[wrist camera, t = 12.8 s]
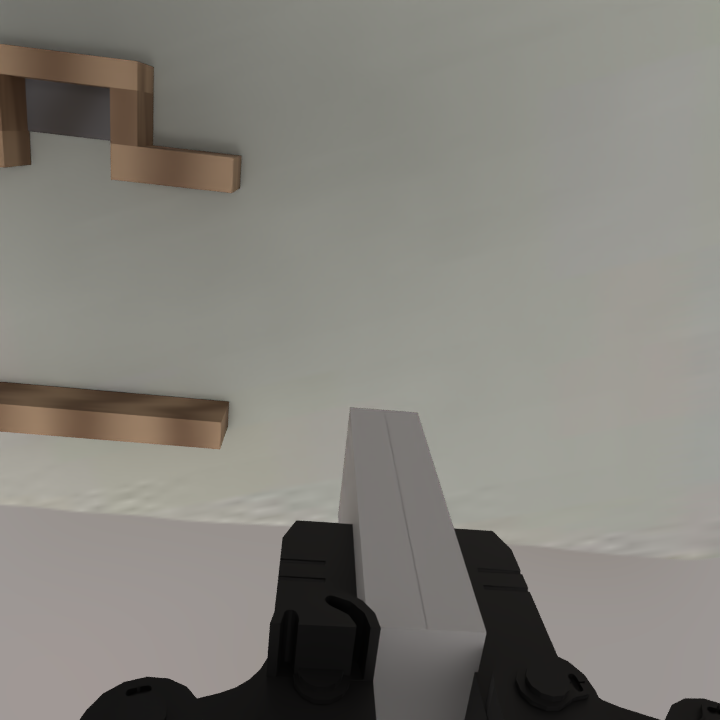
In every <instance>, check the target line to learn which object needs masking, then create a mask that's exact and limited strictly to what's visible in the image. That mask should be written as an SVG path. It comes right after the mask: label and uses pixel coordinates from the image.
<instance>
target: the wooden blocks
mask: <svg viewBox="0 0 720 720" xmlns="http://www.w3.org/2000/svg"><path fill="white" fill-rule="evenodd" d="M153 82H154V67H152V66H149V65H146V64H143V63H140V62H138V61H131V60H123V59H115V58H107V57H99V56H91V55H83V54H76V53H68V52H60V51H52V50H44V49H36V48H28V47H20V46H12V45H5V44H0V167H4V168H5V167H14V166H23V165H31V153H30V134H29V131H33V132H41V133H50V134H58V135H67V136H76V137H84V138H93V139H101V140H110V141H111V180H120V181H129V182H138V183H147V184H156V185H165V186H174V187H183V188H192V189H201V190H210V191H218V192H227V193H233V192H234V191H236V190H238V189H239V188H240V175H241V156H240V155H231V154H223V153H214V152H205V151H197V150H188V149H180V148H171V147H163V146H154V145H153ZM228 411H229V402H226V401H214V400H203V399H191V398H180V397H168V396H157V395H145V394H134V393H122V392H111V391H99V390H88V389H76V388H65V387H53V386H41V385H30V384H18V383H7V382H0V431H1V432H14V433H26V434H38V435H51V436H63V437H76V438H88V439H100V440H113V441H125V442H137V443H150V444H162V445H174V446H187V447H199V448H212V449H220V448H221V445H222V442H223V439H224V436H225V433H226V430H227V427H228Z"/></svg>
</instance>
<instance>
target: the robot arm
mask: <svg viewBox="0 0 720 720" xmlns="http://www.w3.org/2000/svg"><path fill="white" fill-rule="evenodd" d="M338 520H339V523H328V522H312V521H296V522H295V523H294V524H293V525H292V527H291V528H290V529H289V530H288V532H287V533H286V534H285V535H284V537H283V540H282V549H281V558H280V567H279V576H278V586H277V595H276V603H275V612H274V615H273V617H272V620H271V622H270V633H269V646H268V658H267V660H266V661H265V663H264V664H263V666H262V668H261V669H260V670H259V671H258V672H257V673H256V674H255V675H254V676H253V677H252V678H251V679H249V680H248V681H246V682H244V683H243V684H241V685H239V686H238V687H236V688H233V689H230V690H227V691H225V692H221V693H218V694H214V695H210V696H206V697H202V698H198V699H197V698H196V697H195V696H194V695H193V694H192V692H191V691H190V690H189V689H188V688H187V687H186V686H184V685H182V684H179V683H177V682H175V681H173V680H171V679H168V678H155V677H145V678H140V679H135V680H131V681H127V682H123V683H122V684H120V685H118V686H116V687H114V688H113V689H111V690H109V691H107V692H105V693H103V694H102V695H101V696H100V697H99V698H98V699H97V700H96V701H95V702H94V703H93V704H92V705H91V706H90V707H89V708H88V709H87V710H86V712H85V713H84V714H83V716H82V717H81V719H80V720H659V719H656V718H653V717H649V716H646V715H643V714H640V713H637V712H633V711H630V710H627V709H624V708H621V707H618V706H616V705H613V704H611V703H608V702H606V701H603V700H601V699H600V698H599V697H598V695H597V693H596V691H595V689H594V688H593V687H592V685H591V684H590V682H589V681H588V680H587V678H586V676H585V675H584V674H582V672H580V671H579V670H578V669H577V668H575V667H574V666H573V665H572V664H570V663H569V662H568V661H566V660H564V659H562V658H560V657H558V656H557V654H556V651H555V650H554V647H553V645H552V642H551V640H550V638H549V636H548V633H547V631H546V628H545V626H544V624H543V621H542V619H541V617H540V615H539V612H538V610H537V608H536V605H535V603H534V601H533V598H532V596H531V594H530V592H528V587H527V584H526V582H525V580H524V578H523V575H522V574H520V568H519V566H518V564H517V561H516V559H515V557H514V555H513V552H512V550H511V549H510V548H509V547H508V546H507V545H506V544H505V543H504V542H503V541H502V540H501V539H500V538H499V537H498V536H497V535H496V534H495V533H494V532H493V531H483V530H468V529H454V527H453V524H452V521H451V518H450V514H449V511H448V508H447V505H446V502H445V498H444V495H443V492H442V489H441V486H440V482H439V479H438V476H437V473H436V470H435V466H434V463H433V460H432V457H431V454H430V450H429V447H428V444H427V441H426V438H425V434H424V431H423V428H422V425H421V422H420V418H419V415H418V413H417V412H404V411H391V410H379V409H366V408H353V407H350V413H349V422H348V431H347V440H346V449H345V458H344V467H343V476H342V485H341V494H340V503H339V512H338ZM665 720H720V703H717V702H713V701H710V700H707V699H689V698H688V699H683V700H681V701H679V702H677V703H675V704H673V705H672V706H671V708H670V710H669V712H668V714H667V716H666V719H665Z"/></svg>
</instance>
